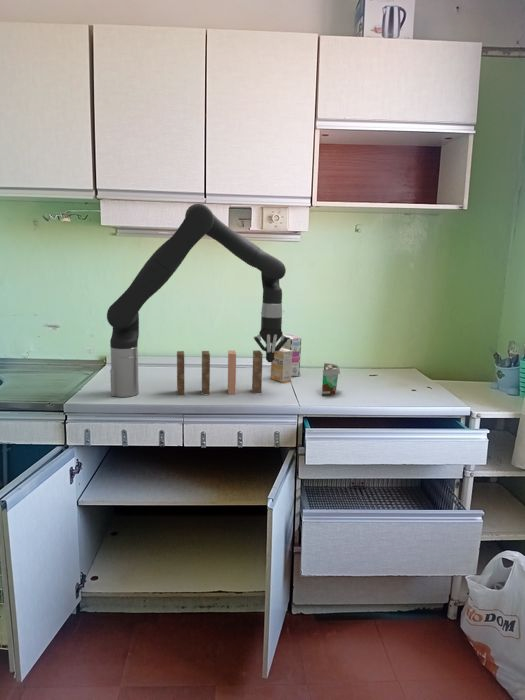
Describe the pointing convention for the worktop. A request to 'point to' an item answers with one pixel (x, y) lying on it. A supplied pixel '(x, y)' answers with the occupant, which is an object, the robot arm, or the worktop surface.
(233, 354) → the terracotta tile
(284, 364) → the supplement box
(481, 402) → the worktop surface
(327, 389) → the food container
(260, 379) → the wood grain beam
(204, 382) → the middle walnut tile
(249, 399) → the worktop surface
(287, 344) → the candy bar box
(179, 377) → the near walnut tile
